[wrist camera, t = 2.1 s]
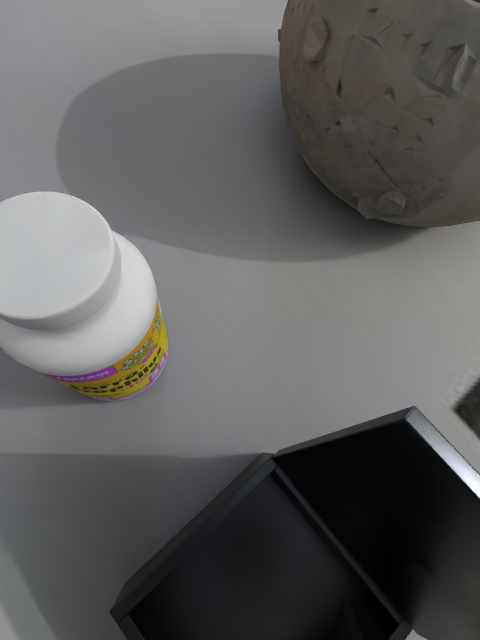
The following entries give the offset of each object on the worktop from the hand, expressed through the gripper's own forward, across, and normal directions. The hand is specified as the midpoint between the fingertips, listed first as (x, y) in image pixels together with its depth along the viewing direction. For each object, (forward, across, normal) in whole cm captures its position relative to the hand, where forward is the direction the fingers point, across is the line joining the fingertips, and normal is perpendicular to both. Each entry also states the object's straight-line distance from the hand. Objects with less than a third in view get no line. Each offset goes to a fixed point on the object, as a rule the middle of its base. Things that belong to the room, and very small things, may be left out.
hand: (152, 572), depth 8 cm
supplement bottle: (+16, +6, +2) cm, 17 cm away
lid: (+4, -9, +2) cm, 10 cm away
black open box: (+9, -5, +11) cm, 15 cm away
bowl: (+29, -11, -17) cm, 36 cm away
